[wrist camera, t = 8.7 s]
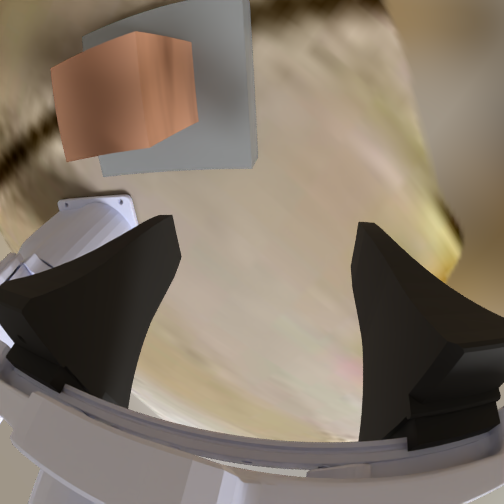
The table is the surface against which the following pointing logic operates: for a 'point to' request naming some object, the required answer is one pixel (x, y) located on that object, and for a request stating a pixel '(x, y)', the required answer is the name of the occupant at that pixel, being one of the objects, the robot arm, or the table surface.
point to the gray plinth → (199, 88)
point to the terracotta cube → (124, 94)
